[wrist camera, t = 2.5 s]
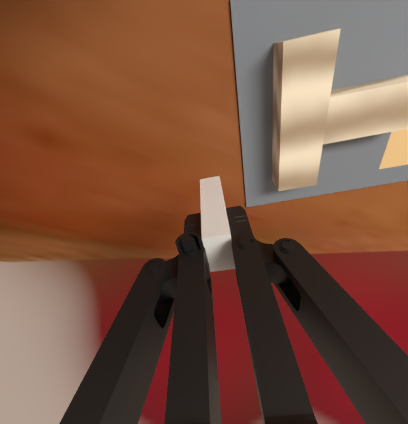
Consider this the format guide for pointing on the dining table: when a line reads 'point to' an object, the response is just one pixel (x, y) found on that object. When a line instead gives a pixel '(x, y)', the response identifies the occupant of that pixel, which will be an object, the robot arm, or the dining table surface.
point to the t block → (323, 107)
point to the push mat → (343, 77)
